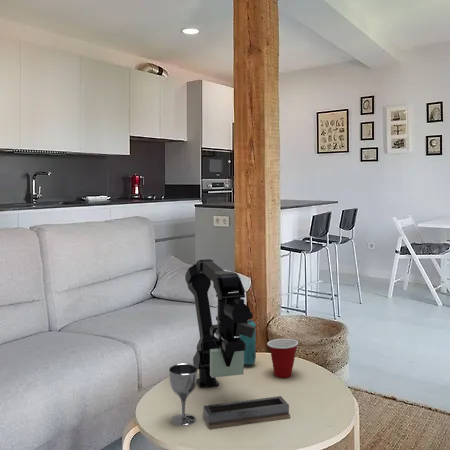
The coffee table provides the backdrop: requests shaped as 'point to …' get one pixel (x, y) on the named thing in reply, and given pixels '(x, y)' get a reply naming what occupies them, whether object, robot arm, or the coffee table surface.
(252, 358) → the beverage bottle
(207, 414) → the grey long open box
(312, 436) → the coffee table surface
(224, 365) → the pale green rectangular block
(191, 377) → the wine glass
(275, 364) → the plastic cup
